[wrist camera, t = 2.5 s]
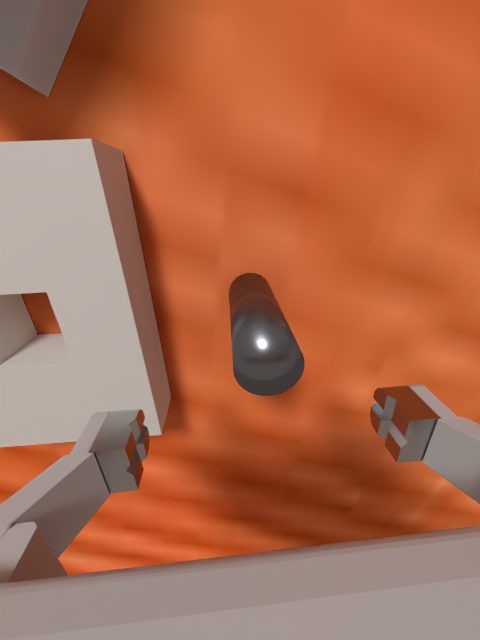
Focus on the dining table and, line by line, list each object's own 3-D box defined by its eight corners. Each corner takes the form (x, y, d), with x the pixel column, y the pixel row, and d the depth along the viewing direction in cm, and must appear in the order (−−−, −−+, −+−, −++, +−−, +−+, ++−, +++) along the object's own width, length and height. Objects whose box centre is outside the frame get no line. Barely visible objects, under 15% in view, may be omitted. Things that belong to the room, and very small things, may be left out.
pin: (270, 271, 19) (306, 334, 11) (270, 311, 20) (302, 393, 12) (227, 274, 19) (231, 339, 11) (230, 313, 20) (235, 397, 12)
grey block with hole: (122, 150, 15) (91, 138, 12) (171, 396, 23) (161, 434, 19) (-119, 160, 15) (-228, 151, 11) (16, 407, 23) (-23, 448, 19)
